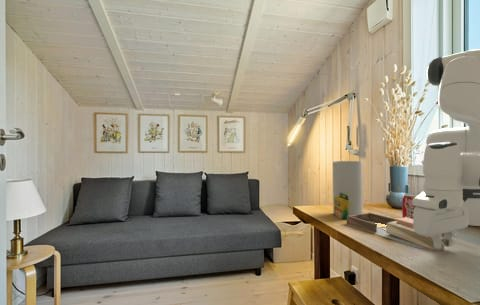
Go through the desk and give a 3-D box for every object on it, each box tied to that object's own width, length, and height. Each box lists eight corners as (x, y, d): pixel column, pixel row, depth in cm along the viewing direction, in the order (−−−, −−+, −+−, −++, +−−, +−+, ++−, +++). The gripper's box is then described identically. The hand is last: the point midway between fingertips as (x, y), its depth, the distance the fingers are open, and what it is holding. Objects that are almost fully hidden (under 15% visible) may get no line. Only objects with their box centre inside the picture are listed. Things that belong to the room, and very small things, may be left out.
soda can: (427, 227, 99) (426, 196, 99) (406, 226, 101) (406, 196, 101) (418, 222, 106) (417, 193, 106) (399, 221, 108) (399, 193, 108)
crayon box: (334, 218, 114) (333, 192, 114) (340, 218, 115) (340, 192, 114) (342, 223, 107) (341, 195, 107) (349, 223, 107) (348, 195, 107)
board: (378, 221, 109) (378, 217, 109) (456, 243, 83) (456, 238, 83) (345, 227, 101) (345, 223, 101) (419, 253, 75) (419, 248, 75)
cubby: (369, 219, 106) (369, 212, 106) (398, 227, 95) (398, 219, 95) (346, 223, 101) (346, 216, 101) (374, 232, 90) (374, 224, 90)
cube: (405, 231, 90) (406, 217, 90) (420, 236, 86) (421, 221, 85) (396, 233, 88) (397, 219, 88) (411, 238, 84) (412, 223, 83)
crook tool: (401, 229, 91) (402, 219, 91) (455, 246, 77) (455, 234, 77) (386, 232, 88) (386, 222, 87) (439, 251, 73) (440, 239, 73)
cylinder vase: (332, 217, 116) (332, 162, 115) (334, 211, 127) (333, 161, 127) (363, 220, 111) (362, 162, 110) (361, 213, 122) (361, 161, 122)
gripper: (450, 193, 80) (451, 237, 81) (408, 200, 72) (408, 248, 72) (475, 197, 75) (476, 244, 75) (432, 204, 66) (433, 257, 67)
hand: (442, 246), depth 73 cm, fingers closed on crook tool, 3 cm apart
